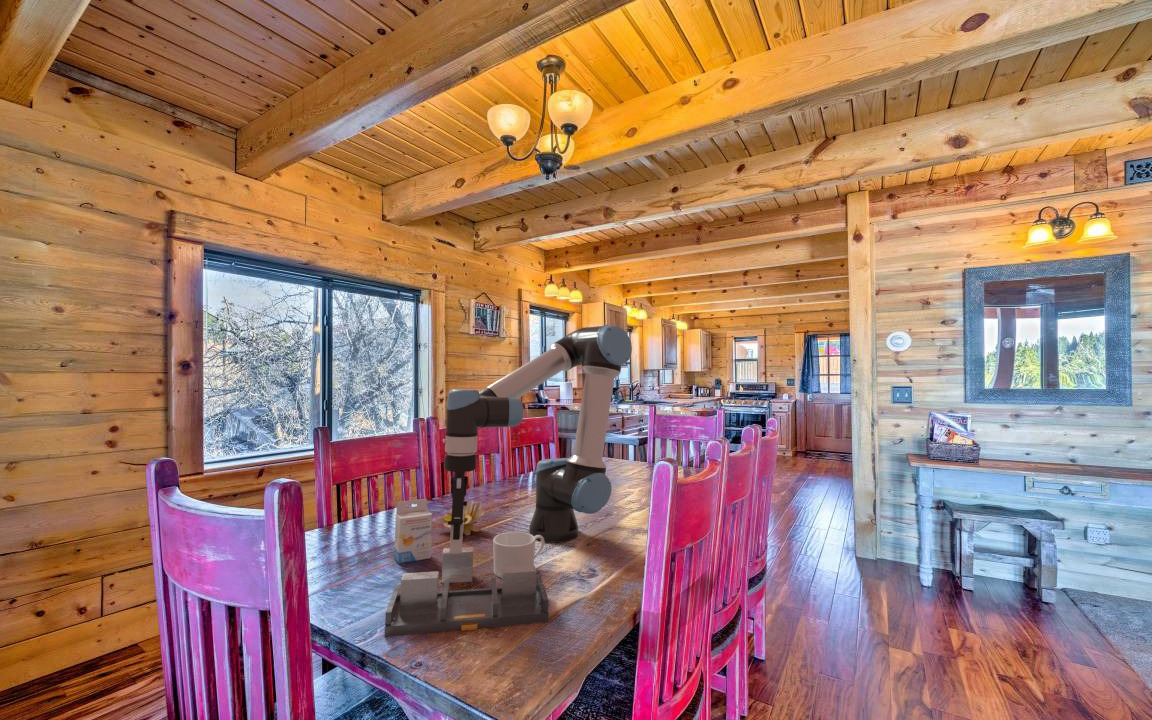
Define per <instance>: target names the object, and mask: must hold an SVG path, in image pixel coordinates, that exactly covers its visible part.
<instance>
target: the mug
mask: <svg viewBox="0 0 1152 720" xmlns="http://www.w3.org/2000/svg"><path fill="white" fill-rule="evenodd" d="M538 538H540V539H541V541H540V544H539V547H538V548H537V550H536V539H538ZM492 546H493V547H492V548H493V553H492V554H493V555H492V556H493V559H492V560H493V573H494V575H495V576H496V577H498V578H500V579H502V567H514V566H530V565H534V564H535V563H534V562H535V559H536V558H537V557H538V556H539V554H540V553H541V552H542V550H543V549H544V548H545V547H544V546H545V541H544V538H543V537H542V536H541V535H536V536H533V535H531V534H529V533H528V532H524V531H507V532H503V533H499V534H497V535H495V536H494V537H493V539H492ZM535 550H536V551H535Z"/></svg>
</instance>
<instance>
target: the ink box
mask: <svg viewBox="0 0 1152 720" xmlns="http://www.w3.org/2000/svg"><path fill="white" fill-rule="evenodd" d="M412 504H413V505H416V506H411V505H412ZM408 506H409V507H408ZM395 512H396V513H395V519H394V520H395V526H394V551H393V552H394V553H393V555H394V556H393V558H394V560H395V561H396V562H397V564H398V565H400V564H404V563H411V562H416V561H422V560H426V559H431V558H432V555H431V554H432V534H433V533H432V532H433V530H432V529H433V513H432V512H431V511H429V510H428V499H427V498H422V499H421V498H419V499H412V500H410V499H409V500H404V501H398V502H396V511H395Z"/></svg>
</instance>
